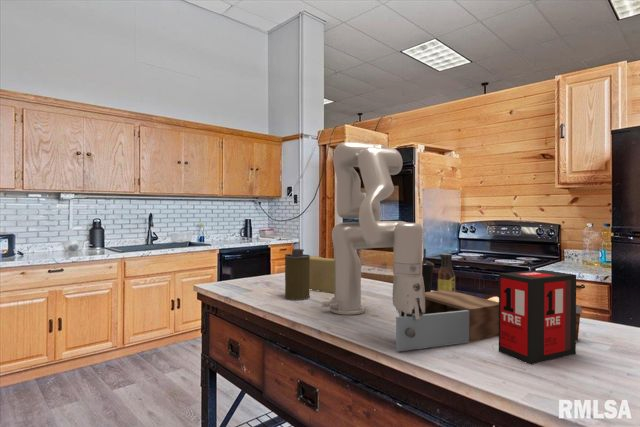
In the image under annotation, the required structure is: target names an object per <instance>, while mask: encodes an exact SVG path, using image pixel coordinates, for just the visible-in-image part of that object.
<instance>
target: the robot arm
mask: <svg viewBox="0 0 640 427" xmlns="http://www.w3.org/2000/svg"><path fill="white" fill-rule="evenodd" d="M332 161H333V162H332V163H333V167H334V168H333V169H334V172H335V178H336V211H337V212H336V213H337V215H338V217H339V218H342V219H346V220H347V219H348V220H350V219H351V220H352V219H353V220H358V222H357V221H356V222H355V221H354V222H351V221H349V222H341V223H337V224H336V225H334V227H333V228H332V231H331V238H332V239H331V240H332V244H333V245H332V246H333V257H334V258H333V259H334V267H335V271H334V293H333V296H334V297H331V299H330V300H329V301H328V300H327V301H322V302H321V306H322V307H323V308H326V307H327V308H329V311H330V312H332V313H334V314H336V315H337V314H338V315H344V316H345V315H347V316H349V315H351V316H352V315H353V316H354V315H361V314H363V313H365V312H366V306H364V305H362V299H361V298H362V260H361V258H360V256H359V255H358V253H357V252H356V250H358V249H359V250H360V249H361V250H362V249H365V250H366V249H374V248H377V249H378V248H379V249H380V248H393V257H392V258H393V263H392V264H393V265H392V266H393V271H392V272H393V280H392V281H393V282H392V305H393V307H395V310H396V311H397V312H398V317H403V316H413V320H420V317H419V313H421V314H424V313H425V289H424V281H423V276H422V261H423V242H424V241H423V237H424V236H423V226H422V225H421V224H420V223H419V222H407V221H403V220H381V201H383V200H385V199H387V198H389V197H390V196H391V195H392V194H393V192H394V191H395V186H394V184H393V181H392V176H395V175H398V174H399V173H400V172H401V171H402V168H403V166H404V165H403V158H402V155H401V153H400V152H399V151H398V150H397V149H396V148H392V147H390V146H387V145H385V144H384V145H383V144H379V143H369V142H368V143H367V142H361V141H359V142H358V141H345V142H340V143H338V144H337V146H335V149H334V151H333V160H332ZM355 168H359V172H360V175H361V178H360V175H359V173H358V172H357V171H356V170H355ZM361 180H362V182H363V187H364V189H365V190H364V191H365V192H362V190H361V188H362V186H361Z"/></svg>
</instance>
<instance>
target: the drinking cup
mask: <svg viewBox="0 0 640 427" xmlns="http://www.w3.org/2000/svg"><path fill="white" fill-rule="evenodd" d="M426 250H427V249H426V248H424V249H423V260H422V276H423V281H424V289H425V292H432V283H433V274H434V272H433V271H434V266H435V263H433V262H431V261H429V260H426V259H427V258H426V257H427V256H426V254H427V253H426V252H427V251H426Z"/></svg>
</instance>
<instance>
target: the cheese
mask: <svg viewBox="0 0 640 427" xmlns="http://www.w3.org/2000/svg"><path fill="white" fill-rule="evenodd" d="M334 271H335V267H334V258H325V257H321V256H317V255H310V282H309V289H312V290H311V291H315V290H319V291H318V292H322V291H325V292H324V293H328V292H331V293H330V294H334Z"/></svg>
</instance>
